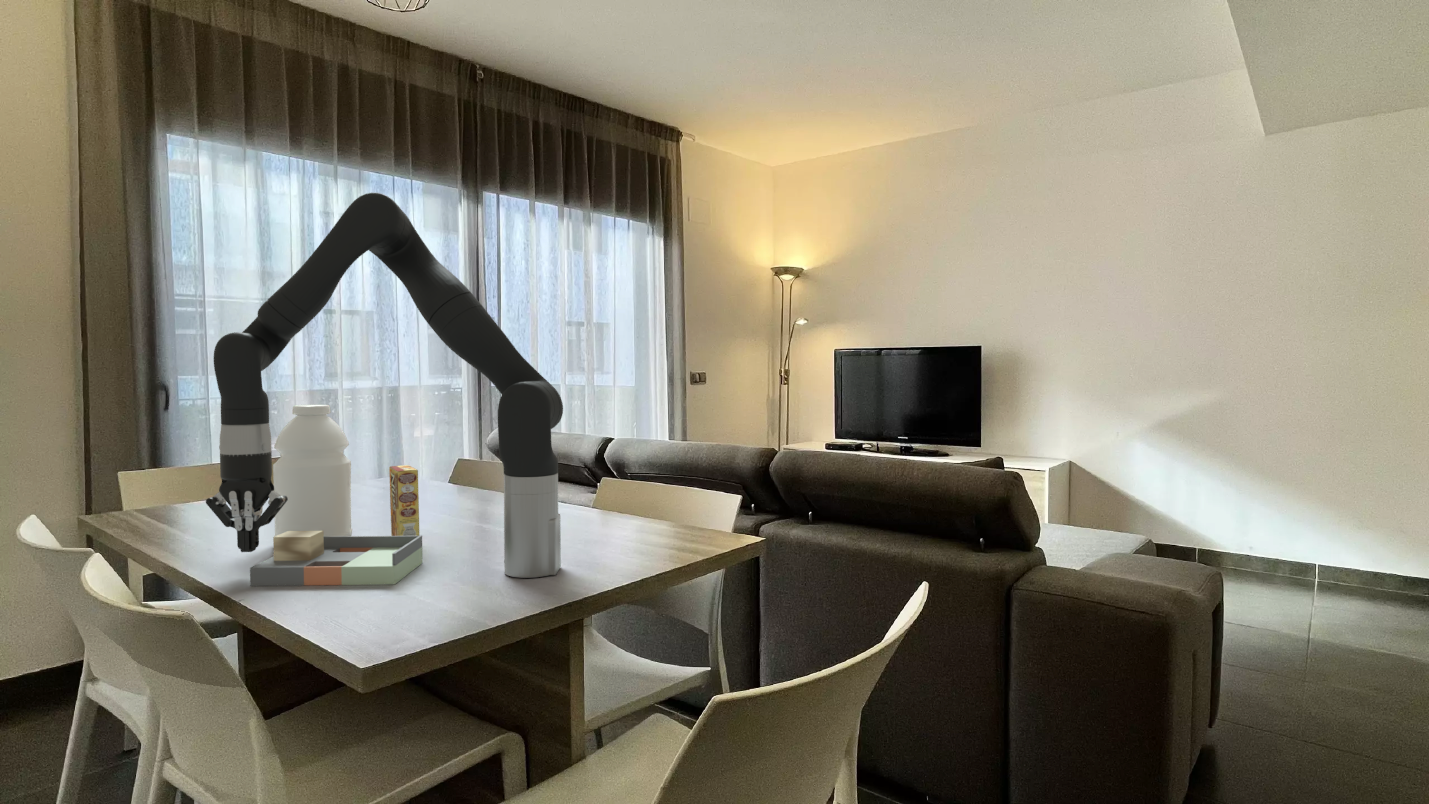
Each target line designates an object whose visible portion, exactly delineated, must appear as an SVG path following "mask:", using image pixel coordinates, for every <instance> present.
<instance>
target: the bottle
mask: <svg viewBox="0 0 1429 804" xmlns="http://www.w3.org/2000/svg"><path fill="white" fill-rule="evenodd" d="M331 413H332V411H331V407H330V405H329V404H296V405H293V406H292V415H295V417H293V418H292V419H291V420H290V421H288V423H286V425H285V426H284V427H283V428H282V430H281V431H280V432H279V434H278V436H277V438H276V439H275V440H276V441H275V443H274V445H273V448H274V449H275V450H276V451H277V452H279V455H280V457H279V458H278V459H277V461H276V462H274V463H272V477H273V478H272V479H273V485H274V491H275V492H277V493H278V494H279V495H281V496H284V495H285V496H287V498H288V500H287V502H286V503H285V504H284V506H283V507H282V508H281V509H280V511H279V512H278V513H277V514H276V516H275V517H274V518H273V519H274V536H273V537H275V536H277V535H280V534H282V533H285V532H287V531H323V533H324V536H353V535H352V534H353V528H352V481H351V479H352V476H351V475H352V471H351V469H352V468H351V467H352V460H351V459H349V458H348V457H347V456H346V455H345V454H344V452H345V451H344V450H345V449H347V447H348V446H349V445H350V442H349V440H348V438H347V436H346V434H345V431H343V429H342V427H341V426H340V425H339V424H338V423H337V422H336V421H335V420H334V419H333V418H331V417H330V416H328V415H329V414H331Z"/></svg>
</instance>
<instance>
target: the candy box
mask: <svg viewBox="0 0 1429 804" xmlns="http://www.w3.org/2000/svg"><path fill="white" fill-rule="evenodd" d="M388 470H389V473H388V474H389V501H390V502H389V503H390V505H389V506H390V507H389V508H390V529H391V530H390V532H391V534H390V536H421V535H420V508H419V507H420V503H419V499H420V497H419V469H418V468H415V467H413V466H411V465H410V464H407V465H406V464H405V465H391V466H389V469H388Z"/></svg>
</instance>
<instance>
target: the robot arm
mask: <svg viewBox="0 0 1429 804" xmlns="http://www.w3.org/2000/svg"><path fill="white" fill-rule="evenodd" d="M368 251H369V252H370V253H372V254H373V255H374V256H376V257H377V259H379V260H380V261H381V262H382V263H383V264H384V265H385V266H386V267H387V268H388V269H389V270H390V271H391V272H392V273H393V274H394V275H395V276H396V277H397V278H398V279H399V280H400V281H401V283H402V285H404V287H405V288H406V290H407V292H408V293H409V296H410V297H411V299H412V301H413V303H414V305H415V306H416V308H417V310H418V312H419V313H420V315H421V316H422V317H423V319H424V320H425V322H426V323H427V324H428V326H430V328H431V329H432V331H433V332H434V333H435V334H436V335H437V337H438V338H439V339H440V340H441V342H443V344H445V346H447V348H449V349H450V351H452V352H453V353H455V354H456V355H457V356H458V357H459V358H461V359H462V360H463V361H464V362H466V363H467V364H469V365H470V366H472V368H474V369H475V370H477V371H478V372H480V373H481V374H482V375H483V376H485V377H486V378H487V379H488V380H489V381H490V382H491V383H492V384H493V386H494V387H495V388H496V389H497V390H498V392H499V393H500V398H499V402H498V405H497V406H498V407H497V434H498V435H497V437H498V452H499V457H500V460H501V462H502V466H503V526H504V527H503V528H504V529H503V536H504V537H503V539H504V540H503V547H504V548H503V549H504V552H503V553H504V558H503V559H504V560H503V565H504V574H505V575H507V576H508V577H509V576H510V577H512V578H522V579H523V578H524V579H527V578H539V577H540V578H541V577H547V576H556V575H557V574H558V571H559V570H560V569H561V563H562V560H561V551H562V550H561V549H562V547H561V546H562V545H561V530H562V529H561V528H562V527H561V513H559V460H558V457H557V456H556V455H555V453H554V451H553V446H552V445H553V444H552V429H554V428H555V427H557V425H558V424H559V423H560V422H561V420H562V418H563V414H564V405H563V401H562V397H561V395H560V394H559V392H558V391H557V389H556V388H555V387H554V386H553V385H552V384H551V383H550V382H549V381H548V380H547V379H546V378H545V377H544V376H543V375H542V374H541V373H540V372H538V371H537V370H536V369H535V368H534V366H533V365H531V364H530V363H529V362H528V361H527V359H526V358H525V357H524V356H523V355H522V354H521V353H520V352H519V351H518V350H517V348H516V347H515V346H514V345H513V343H512V342H511V341H510V339H509V338H508V336H507V335H506V334H505V333H504V331H503V330H502V329H501V328H500V326H499V324H497V322H496V321H495V320H494V318H493V317H492V316H491V315H490V313H489V312H488V311H487V310H486V309H485V307H484V306H483V305H482V304H481V302H480V301H479V300H478V299H477V297H476V296H475V295H474V294H473V292H471V290H470V289H468V287H467V286H466V285H465V284H464V283H463V282H462V281H461V280H460V279H459V278H458V277H457V276H456V275H455V274H454V273H452V272H451V271H450V270H449V269H447V267H445V266H444V265H443V264H442V263H441V262H440V261H439V260H437V258H436V257H435V255H433V253H432V252H431V250H430V249H429V248H428V246H427V245H426V244H425V242H424V240H423V239H422V238H421V236H420V235H419V233H418V231H417V230H416V229H415V227H414V226H413V223H412V221H411V220H410V219H409V217H408V216H407V214H406V212H404V211H403V210H402V208H401V207H400V205H398V204H397V203H396V201H394V199H392V198H391V197H390V196H388V195H386V194H384V193H381V192H367V193H365V194H362V195H359V196H358V197H357V198H355V200H354V201H352V202H351V203H350V204H349V206H348V207H347V208H346V209H345V211H344V212H343V213H342V215H341V216H340V218H339V219H338V220H337V221H336V223H335V224H334V226H333V227H332V229H330V230H329V232H328V233H327V235H326V236H325V237H324V239H323V240H322V241H321V243H320V244H319V245H318V246H317V248H316V249H315V250H314V251H313V253H312V254H311V255H310V257H308V259H307V260H306V261H305V262H304V263H303V264H302V265H301V267H300V268H298V270H297V271H296V272H295V273H294V274H293V275H292V276H291V277H290V278H289V279H287V281H286V282H284V284H282V285H281V286H280V287H279V288H278V289H277V290H276V291H275V292H274V293H272V295H271V296H270V297H269V298H268V299H267V300H266V301H265V302H264V303H263V304H262V305H261V306H260V307H259V308H258V310H257V316H256V318H255V319H254V320H253V321H252V322H251V323H250V324H248V326H247V327H246V328H245V329H244V330H243V331H242V332H240V331H237V332H230V333H227V334H225V335H223V336H221V338H219V340H218V341H217V343H216V344H215V347H214V350H213V368H214V375H215V379H216V384H217V389H218V392H219V394H220V430H219V431H220V433H219V446H218V447H219V465H220V466H219V468H220V469H219V471H220V475H219V477H220V479H221V483H220V485H219V488H218V491H219V492H217V493H216V494H214V495H213V496H211V497H208V498H206V499H205V504H206V505H207V506H208V507H209V509H210V510H211V511H212V513H213V514H214V515H215V516H216V517H217V518H218V519H219V520H220V522H221V523H222V525H224V527H226V528H233V529H235V530H236V536H237V541H236V542H237V548H238V549H239V550H240V552H241V553H252V552H254V551H256V549H257V548H258V547H259V546H260V545H259V544H260V538H259V537H260V534H259V533H260V531H259V530H260V528H261V527H263V526H264V527H265V526H266V525H269V524H270V523H271V522H272V521H273V520H274V519H275V518H274V517H275V516H276V514H277V513H278V512H279V511H280V509H281V508H282V507H283V506H284V504H285V503H286V502H287V500H288V498H287V496H285V495H284V496H281V495H279V494H278V493H277V492H275V491H274V483H273V481H272V477H273V462H272V460H273V457H272V456H273V455H272V453H273V452H272V434H271V433H272V432H271V428H270V406H269V405H270V404H269V403H270V402H269V401H270V400H269V397H268V394H267V392H266V391H265V390H264V389H263V380H262V379H263V378H262V371H264V370H265V369H267V368H268V367H269V366H270V365H271V364H273V362H274V361H275V360H276V359H277V358H278V357H279V356H280V355H281V353H282V352H283V350H284V349H285V348H286V347H287V346H288V344H289V343H290V342H291V340H292V339H293V338H294V337H295V336H296V335H297V334H299V333H300V332H301V331H302V330H303V329H304V328H305V327H306V326H307V325H308V324H310V322H311V321H312V320H313V319H314V318H315V317H317V315H319V313H320V312H321V311H323V309H324V308H325V307H326V305H327V303H328V302H329V300H331V297H332V296H333V294H334V292H335V291H336V288H337V287H338V285H339V283H340V281H341V280H342V278H343V276H344V275H345V274H346V273H347V271H348V270H349V268H350V267H352V265H353V264H354V263H355V261H357V260H358V259H359V258H360V257H361V256H363V255H364V254H365V253H367V252H368ZM266 502H267V503H268V506H267V508H266V509H265V510H264V511H263V508H264V506H265V504H266ZM228 505H229V506H228Z"/></svg>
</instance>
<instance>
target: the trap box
mask: <svg viewBox="0 0 1429 804" xmlns="http://www.w3.org/2000/svg"><path fill="white" fill-rule="evenodd" d="M421 564H423V535H420V536H391V535H352V536H324V553H323V554H322V555H320V556H318V557H316V558H314V559H312V560H299V561H274V556H272V557H270V558H268V559H266V560H264V561H261V562H259V563H257V564H254V565H253V566H251V567H250V568H249V578H250V580H249V582H250V583H249V585H250V587H269V586H270V587H272V586H273V587H277V586H279V587H281V586H283V587H286V586H289V587H290V586H291V587H292V586H296V587H297V586H360V585H361V586H363V585H364V586H365V585H367V586H368V585H369V586H373V585H377V586H378V585H382V586H383V585H396V584H398V583H399V582H400V581H401V580H402V579H404V578H405V577H407V575H409V574H410V573H411V572H412V571H414V570H415V569H417V568H418V567H419V566H420V565H421Z"/></svg>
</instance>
